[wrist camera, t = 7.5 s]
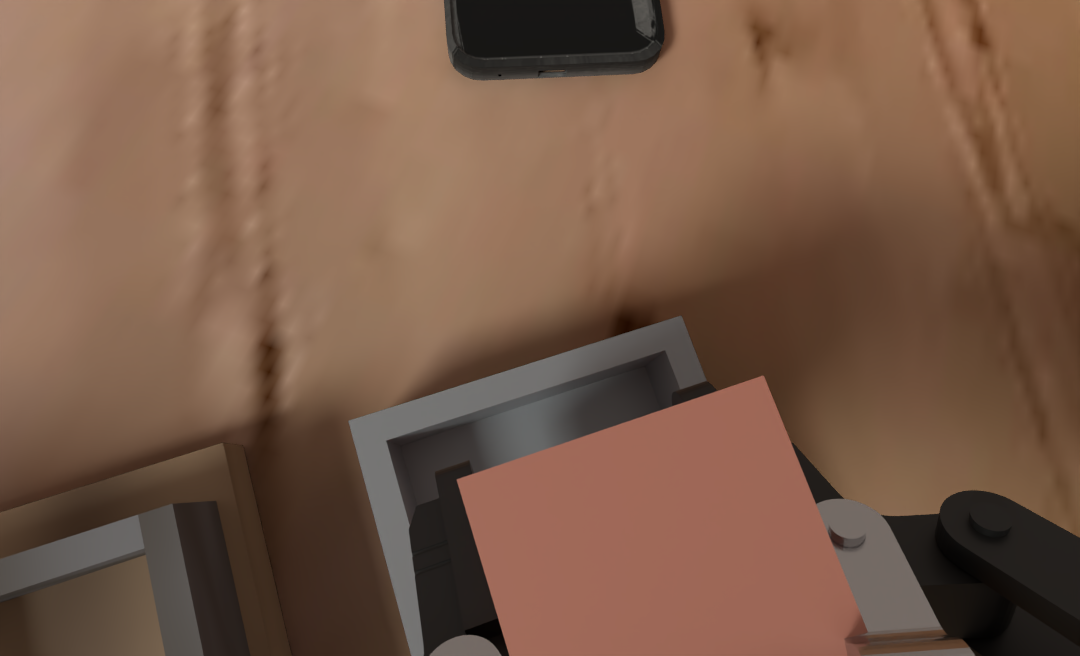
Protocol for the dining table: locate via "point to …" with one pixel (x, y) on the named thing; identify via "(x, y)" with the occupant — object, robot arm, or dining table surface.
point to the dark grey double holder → (143, 566)
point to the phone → (552, 37)
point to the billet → (664, 540)
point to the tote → (509, 428)
